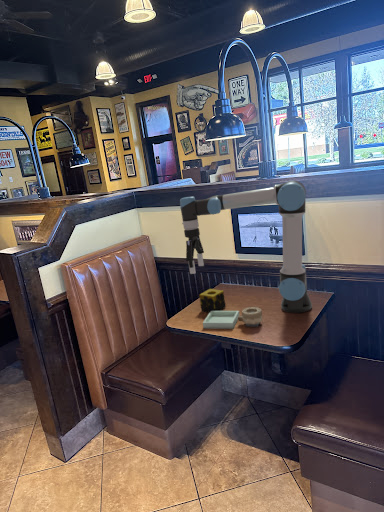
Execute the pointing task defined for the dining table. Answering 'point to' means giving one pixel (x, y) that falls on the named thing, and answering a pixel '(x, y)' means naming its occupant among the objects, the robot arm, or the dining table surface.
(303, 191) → the robot arm
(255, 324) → the grey peg stand
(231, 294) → the dining table surface
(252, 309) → the ring
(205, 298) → the yellow cube with holes
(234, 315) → the tray
